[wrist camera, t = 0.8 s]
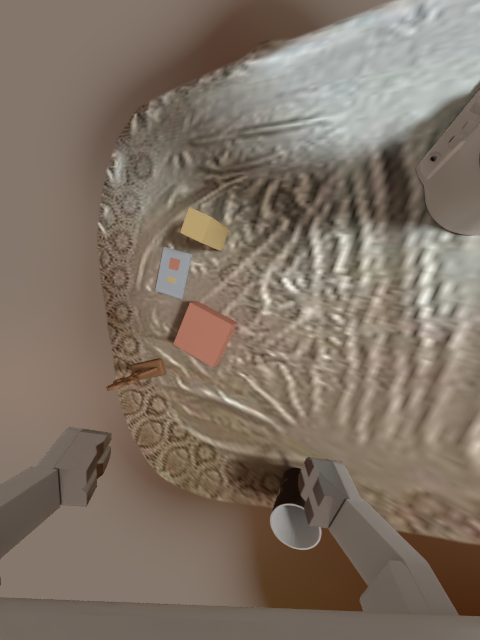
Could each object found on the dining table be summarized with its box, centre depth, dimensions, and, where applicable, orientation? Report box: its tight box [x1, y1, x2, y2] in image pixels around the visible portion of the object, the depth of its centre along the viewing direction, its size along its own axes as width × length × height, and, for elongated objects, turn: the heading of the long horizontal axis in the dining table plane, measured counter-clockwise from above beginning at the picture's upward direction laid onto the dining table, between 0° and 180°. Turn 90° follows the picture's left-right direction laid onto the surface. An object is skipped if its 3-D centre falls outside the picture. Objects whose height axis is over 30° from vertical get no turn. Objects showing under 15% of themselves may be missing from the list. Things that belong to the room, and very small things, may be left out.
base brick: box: [173, 302, 238, 367], centre depth 51 cm, size 10×10×4 cm
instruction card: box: [155, 247, 192, 299], centre depth 53 cm, size 10×7×1 cm
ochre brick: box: [180, 207, 229, 251], centre depth 45 cm, size 4×4×9 cm
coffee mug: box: [270, 468, 321, 550], centre depth 45 cm, size 12×9×10 cm
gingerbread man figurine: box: [107, 359, 166, 390], centre depth 52 cm, size 9×4×12 cm, turn 106°
